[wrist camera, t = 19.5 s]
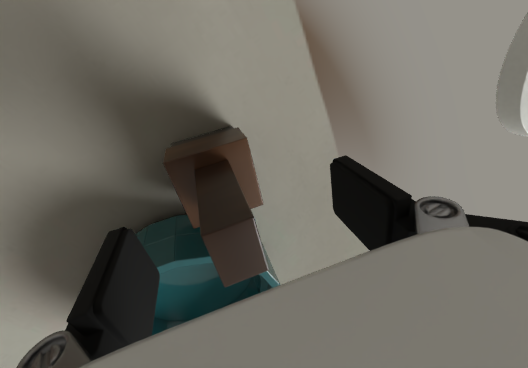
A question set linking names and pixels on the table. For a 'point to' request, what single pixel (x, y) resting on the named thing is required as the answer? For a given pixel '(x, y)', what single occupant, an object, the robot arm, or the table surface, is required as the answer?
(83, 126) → the table surface
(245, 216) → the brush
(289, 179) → the table surface
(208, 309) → the bowl
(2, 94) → the table surface
